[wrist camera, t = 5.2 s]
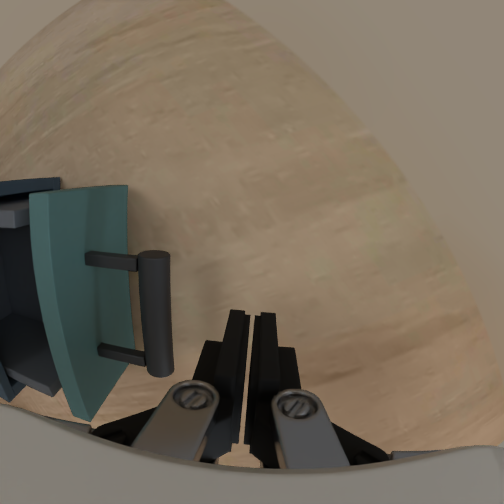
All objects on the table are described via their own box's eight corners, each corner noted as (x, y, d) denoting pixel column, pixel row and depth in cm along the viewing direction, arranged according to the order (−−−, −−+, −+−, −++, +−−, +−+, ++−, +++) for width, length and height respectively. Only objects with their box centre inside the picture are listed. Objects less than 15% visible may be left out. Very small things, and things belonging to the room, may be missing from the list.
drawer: (196, 186, 16) (144, 193, 8) (193, 363, 18) (164, 443, 11) (2, 189, 16) (-66, 200, 9) (18, 321, 19) (-34, 359, 11)
